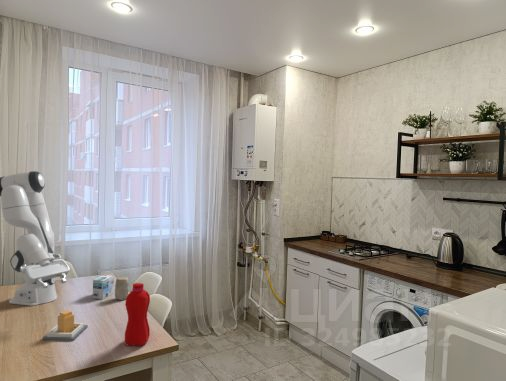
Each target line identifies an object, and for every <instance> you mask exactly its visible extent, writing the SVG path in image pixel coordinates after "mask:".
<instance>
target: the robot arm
mask: <svg viewBox="0 0 506 381" xmlns="http://www.w3.org/2000/svg"><path fill="white" fill-rule="evenodd" d="M45 184H46V181H45V177H44V176H43V174H42V173H41V172H39V171H37V170H35V171H34V170H32V171H26V172H19V173H18V172H17V173H15V174H10V175H6V176H1V177H0V203H1V204H0V205H1V211H2V217H3V218H4V221H5V222H6V223H7V224H8V225H11V226H13V227H17V228H20V229H25V230H26V231H27V233H26V234H23V235H21V236H19V237H18V238H17V239H16V241H15V242H16V250H15V251H14V253H13V255H12V256H11V257H10V260H9V262H10V265H11V267H12V269H13V270H14V271H16V272H17V273H21V275H22V277H23V279H24V281H25V283H23V284H22V285H21V286H19V287H18V288H17V289H16V290H15V293H14V296H13V297H12V298H10V299H9V302H8V303H9V304H14V305H19V306H20V305H21V306H30V307H34V306H37V305H41V304H47V303H50V302H53V301H56V300H57V299H58V295H57V291H56V284H55V282H56V278H61V280H60V283H61V284H66V283H67V279H66V276H67V275H68V274H69V272H70V270H71V268H70V266H69V265H68V263H67V262H66V260H64V259H63V258H62V255H61V254H58V253H55V242H56V241H55V239H56V238H55V236H56V235H55V233H54V231H53V229H52V224H51V220H50V216H49V212H48V208H47V205H46V201H45V198H44V195H43V192H42V191H43V190H44V188H45V187H46V186H45Z"/></svg>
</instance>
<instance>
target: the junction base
mask: <svg viewBox="0 0 506 381" xmlns="http://www.w3.org/2000/svg"><path fill="white" fill-rule="evenodd" d="M87 328H88V325H87V324H85V323H84V322H74V331H72V332H69V333H59V332H58V324H56V325H55V326H54V327H53V328H51V329H49V331H47V333H46V334H45V335H44V336H42V338H41V341H53V342H54V341H55V342H56V341H57V342H58V341H61V342H62V341H63V342H65V341H66V342H73V341H75V340H77V338H78V337H79V336H80V335H81V334H83V332H84V331H85V330H86V329H87Z"/></svg>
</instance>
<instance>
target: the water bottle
mask: <svg viewBox="0 0 506 381" xmlns="http://www.w3.org/2000/svg"><path fill="white" fill-rule="evenodd" d="M150 303H151V297H150V294H149V292H148V291H147V290H146V289H145V288H144V283H142V282H135V283H132V290H131V291H129V292H128V296H127V298H126V299H125V303H124V305H125V309H126V313H127V324H126V327H125V331H124V343H125V344H126V345H127V346H135V347H136V346H137V347H138V346H143V345H145V344H146V343H147V342H148V340H149V338H150V324H149V320H148V311H149V307H150Z"/></svg>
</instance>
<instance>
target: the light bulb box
mask: <svg viewBox="0 0 506 381" xmlns="http://www.w3.org/2000/svg"><path fill="white" fill-rule="evenodd" d="M114 284H115V275H109V274H103V275H101V276H99V277H95V278H94V279H92V299H97V300H105V299H106V298H108V297H110V296H112V295H113V293H114V294H115V287H114V286H115V285H114Z"/></svg>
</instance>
